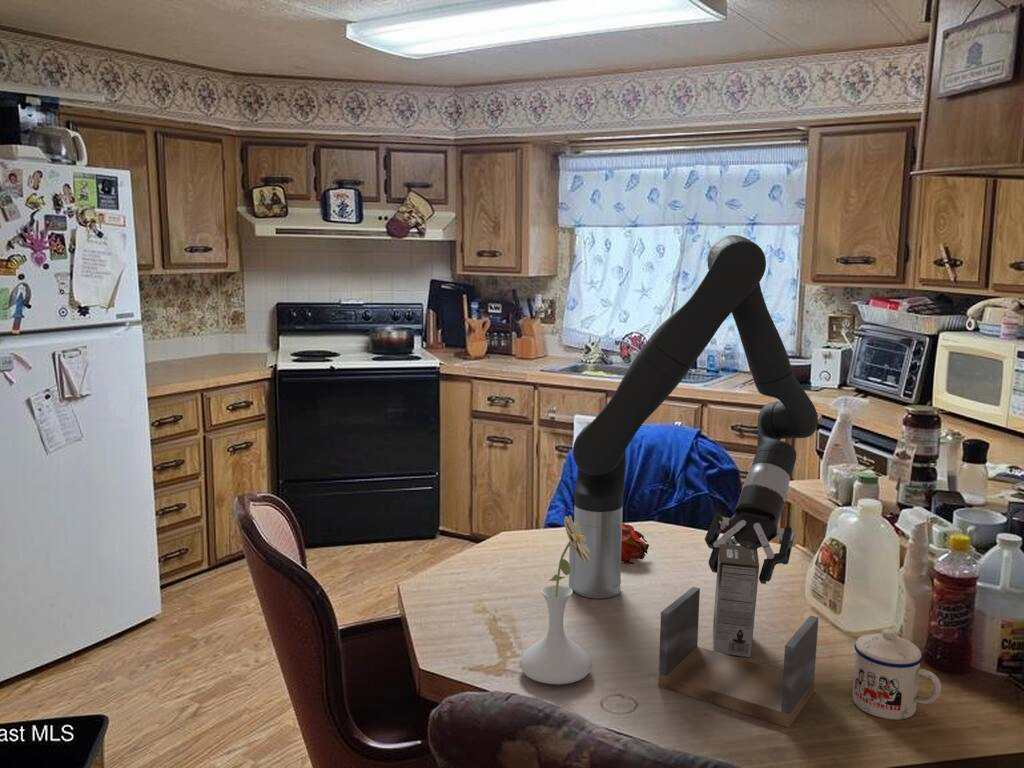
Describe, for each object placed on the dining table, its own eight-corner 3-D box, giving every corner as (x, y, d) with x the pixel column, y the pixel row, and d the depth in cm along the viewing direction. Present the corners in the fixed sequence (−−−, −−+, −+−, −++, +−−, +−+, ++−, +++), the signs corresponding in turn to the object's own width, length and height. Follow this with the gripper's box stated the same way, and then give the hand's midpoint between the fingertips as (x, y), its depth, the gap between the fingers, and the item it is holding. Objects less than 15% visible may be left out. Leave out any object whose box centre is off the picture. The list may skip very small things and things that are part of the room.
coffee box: (711, 629, 152) (718, 542, 149) (749, 634, 151) (756, 546, 148) (712, 653, 143) (720, 561, 141) (752, 658, 142) (760, 565, 139)
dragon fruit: (605, 556, 192) (644, 581, 183) (585, 542, 187) (623, 566, 177) (626, 524, 193) (665, 546, 184) (606, 508, 188) (645, 531, 179)
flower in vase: (570, 699, 129) (572, 538, 125) (505, 679, 135) (506, 525, 131) (608, 664, 140) (612, 515, 136) (547, 646, 146) (548, 503, 142)
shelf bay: (658, 685, 133) (660, 612, 131) (690, 655, 143) (692, 586, 141) (788, 727, 122) (793, 647, 120) (813, 691, 132) (818, 617, 130)
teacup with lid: (840, 705, 128) (846, 631, 126) (864, 683, 134) (869, 612, 132) (926, 737, 120) (933, 658, 118) (947, 711, 126) (954, 636, 124)
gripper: (720, 477, 155) (692, 557, 148) (800, 490, 147) (774, 575, 140) (729, 498, 161) (703, 577, 153) (807, 512, 153) (783, 595, 145)
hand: (737, 576), depth 147 cm, fingers open, 8 cm apart
